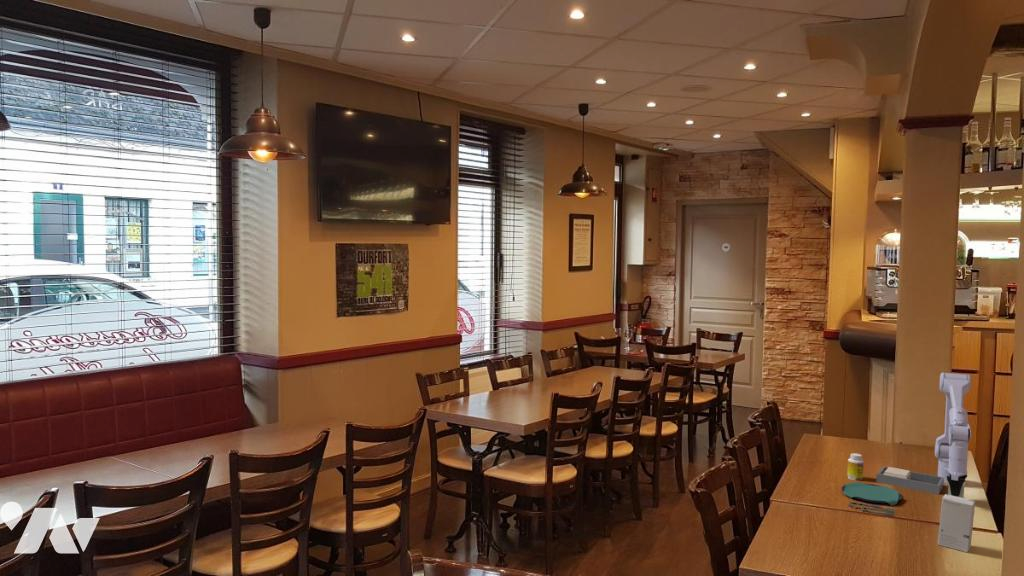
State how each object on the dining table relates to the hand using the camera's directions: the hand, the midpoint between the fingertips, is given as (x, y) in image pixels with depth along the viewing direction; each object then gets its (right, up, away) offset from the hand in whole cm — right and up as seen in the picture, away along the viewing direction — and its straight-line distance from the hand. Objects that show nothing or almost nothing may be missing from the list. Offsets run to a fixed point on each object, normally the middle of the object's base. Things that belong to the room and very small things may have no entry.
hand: (955, 495), depth 258 cm
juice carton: (0, -2, 0) cm, 2 cm away
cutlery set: (-31, -2, -1) cm, 32 cm away
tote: (-8, -1, +16) cm, 18 cm away
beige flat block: (-11, 0, +19) cm, 22 cm away
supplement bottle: (-26, -1, +22) cm, 34 cm away
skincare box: (-26, -4, -41) cm, 48 cm away
